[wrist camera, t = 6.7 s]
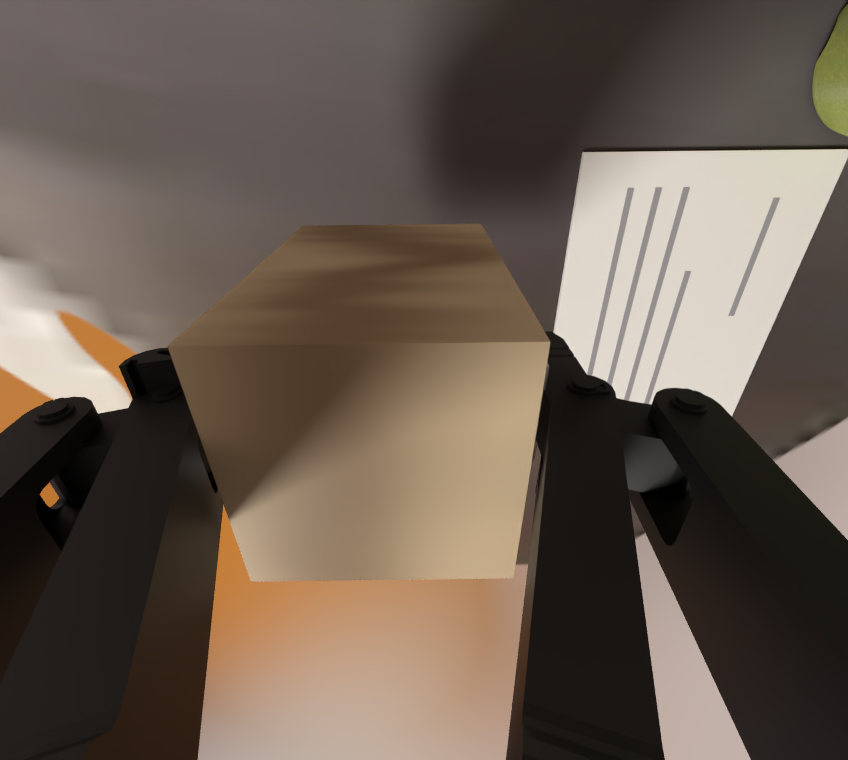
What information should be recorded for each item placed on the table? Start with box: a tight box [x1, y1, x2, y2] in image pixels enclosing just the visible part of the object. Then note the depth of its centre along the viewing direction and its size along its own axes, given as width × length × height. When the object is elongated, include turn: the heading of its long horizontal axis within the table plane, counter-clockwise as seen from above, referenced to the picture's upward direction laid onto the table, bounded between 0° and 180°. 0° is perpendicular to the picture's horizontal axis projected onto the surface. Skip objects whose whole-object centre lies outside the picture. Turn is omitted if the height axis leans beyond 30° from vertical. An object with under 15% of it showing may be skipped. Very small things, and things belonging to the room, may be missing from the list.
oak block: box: [167, 224, 550, 582], centre depth 12 cm, size 6×6×9 cm
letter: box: [553, 149, 848, 416], centre depth 24 cm, size 12×17×1 cm
